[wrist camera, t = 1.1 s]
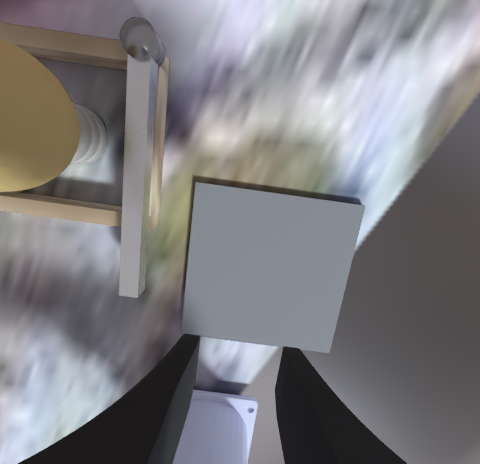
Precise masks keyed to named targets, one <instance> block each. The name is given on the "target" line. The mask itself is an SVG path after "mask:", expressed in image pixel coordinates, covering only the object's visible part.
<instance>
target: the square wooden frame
mask: <svg viewBox="0 0 480 464" xmlns="http://www.w3.org/2000/svg"><path fill="white" fill-rule="evenodd" d="M0 38H2V39H4V40H6V41H8V42H10V43H12V44H14V45H16V46H18V47H20V48H21V49H23V50H24V51H26V52H27V53H29V54H30V55H32V56H33V57H37V58H44V59H51V60H58V61H65V62H71V63H78V64H85V65H92V66H99V67H106V68H112V69H119V70H126V71H127V62H128V53H127V52H126V51H125V50H124V48H123V46H122V44H121V41H120V40H115V39H109V38H102V37H95V36H88V35H82V34H75V33H68V32H61V31H55V30H48V29H41V28H35V27H28V26H21V25H14V24H8V23H1V22H0ZM169 66H170V59H169V58H168V56H167V55H166V56H165V60H164V62H163V64H162V65H161V66H160V67H159V68H158V72H157V89H156V105H155V122H154V138H153V155H152V172H151V188H150V205H149V221H148V231H150V230H151V229H153V228H154V227H156V226H157V225H159V211H160V196H161V182H162V167H163V153H164V138H165V124H166V110H167V95H168V81H169ZM0 211H7V212H14V213H22V214H29V215H36V216H44V217H51V218H59V219H66V220H73V221H81V222H88V223H96V224H103V225H110V226H118V227H121V224H122V206H116V205H109V204H101V203H94V202H87V201H79V200H72V199H65V198H57V197H50V196H43V195H35V194H28V193H22V190H20V191H11V192H0Z"/></svg>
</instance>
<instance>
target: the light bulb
mask: <svg viewBox="0 0 480 464" xmlns="http://www.w3.org/2000/svg"><path fill="white" fill-rule="evenodd" d="M106 144H107V132H106V129H105V126H104V124H103V122H102V121H101V119H100V118H99V117H98V116H97V114H95V113H94V112H93V111H92V110H90V109H88V108H86V107H83V106H81V105H78V104H75V103H73V102H72V100H71V98H70V96H69V95H68V93H67V92H66V90H65V88H64V87H63V85H62V84H61V83H60V81H59V80H58V79H57V78H56V77H55V75H54V74H53V73H52V72H51V71H50V70H48V69H47V68H46V67H45V66H44V65H43V64H42V63H41V62H40V61H39V60H38V59H36V58H35V57H33V56H32V55H30V54H29V53H27V52H26V51H24V50H23V49H21V48H20V47H18V46H16V45H14V44H12V43H10V42H8V41H6V40H4V39H2V38H0V192H11V191H20V190H26V189H31V188H34V187H37V186H40V185H42V184H45V183H47V182H49V181H50V180H52V179H54V178H55V177H57V176H58V175H59V174H61V173H62V172H63V171H64V170H65V169H66V168H67V167H68V165H69V164H89V163H92V162H94V161H96V160H97V159H98V158H100V156H101V155H102V154H103V152H104V150H105V148H106Z"/></svg>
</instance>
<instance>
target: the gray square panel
mask: <svg viewBox="0 0 480 464" xmlns="http://www.w3.org/2000/svg"><path fill="white" fill-rule="evenodd" d="M364 209H365V206H364V205H360V204H353V203H345V202H338V201H331V200H324V199H317V198H310V197H302V196H295V195H288V194H281V193H274V192H266V191H259V190H252V189H245V188H238V187H231V186H223V185H216V184H209V183H202V182H196V183H195V193H194V204H193V214H192V224H191V234H190V245H189V255H188V265H187V275H186V285H185V296H184V306H183V316H182V326H181V334H193V335H200V337H208V338H216V339H224V340H231V341H239V342H247V343H255V344H263V345H270V346H278V347H284V346H286V347H294V348H299V349H302V350H310V351H318V352H326V353H329V352H330V348H331V344H332V340H333V336H334V332H335V328H336V324H337V320H338V315H339V311H340V307H341V303H342V299H343V295H344V291H345V287H346V283H347V279H348V275H349V270H350V266H351V262H352V258H353V254H354V250H355V246H356V242H357V238H358V234H359V230H360V225H361V221H362V217H363V213H364Z"/></svg>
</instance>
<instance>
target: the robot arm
mask: <svg viewBox="0 0 480 464" xmlns="http://www.w3.org/2000/svg"><path fill="white" fill-rule="evenodd" d="M199 344H200V335H193V334H184V335H182V336H181V338H180V339H179V340H178V342H177V343H176V344H175V345H174V347H173V348H172V349H171V350H170V351H169V352H168V353H167V355H166V356H165V357H164V358H163V359H162V360H161V361H160V362H159V363H158V364H157V365H156V366H155V367H154V368H153V369H152V370H151V371H150V372H149V373H148V374H147V375H146V376H145V377H144V378H143V379H142V380H141V381H140V382H139V383H138V384H136V385H135V386H134V387H133V388H132V389H131V390H130V391H128V392H127V393H126V394H125V395H124V396H122V397H121V398H120V399H119V400H117V401H116V402H115V403H114V404H112V405H111V406H110V407H108V408H107V409H106V410H104V411H103V412H101V413H100V414H99V415H97V416H96V417H95V418H93V419H92V420H90V421H89V422H87V423H86V424H85V425H83V426H82V427H80V428H79V429H77V430H75V431H74V432H72V433H70V434H69V435H67V436H66V437H64V438H62V439H61V440H59V441H58V442H56V443H54V444H53V445H51V446H49V447H48V448H46V449H44V450H42V451H40V452H39V453H37V454H35V455H33V456H31V457H30V458H28V459H26V460H24V461H22V462H20V463H18V464H248V456H249V450H250V444H251V439H252V434H253V429H254V423H255V418H256V412H257V407H258V402H257V399H256V398H254V397H248V396H240V395H232V394H224V393H216V392H208V391H200V390H193V389H194V384H195V378H196V369H197V361H198V352H199ZM275 398H276V413H277V421H278V427H279V433H280V439H281V444H282V450H283V455H284V461H285V464H407V463H406V462H405V461H403V460H402V459H401V458H400V457H399V456H397V455H396V454H395V453H394V452H393V451H392V450H390V449H389V448H388V447H387V446H386V445H385V444H384V443H383V442H381V441H380V440H379V439H378V438H377V437H376V436H375V435H374V434H373V433H372V432H371V431H370V430H369V429H368V428H366V426H365V425H364V424H363V423H362V422H361V421H360V420H359V419H358V418H357V417H356V416H355V415H354V414H353V413H352V412H351V411H350V410H349V409H348V408H347V407H346V406H345V404H344V403H343V402H341V400H340V399H339V398H338V397H337V395H336V394H335V393H334V392H333V391H332V390H331V388H330V387H329V386H328V385H327V384H326V382H324V380H323V379H322V377H321V376H320V375H319V374H318V373H317V371H316V370H315V368H314V367H313V366H312V365H311V363H310V362H309V361H308V360H307V358H306V357H305V355H304V354H303V353H302V351H301V350H300V349H299V348H294V347H286V346H284V347H283V352H282V357H281V362H280V367H279V372H278V377H277V382H276V387H275ZM249 408H252V409H249Z"/></svg>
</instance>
